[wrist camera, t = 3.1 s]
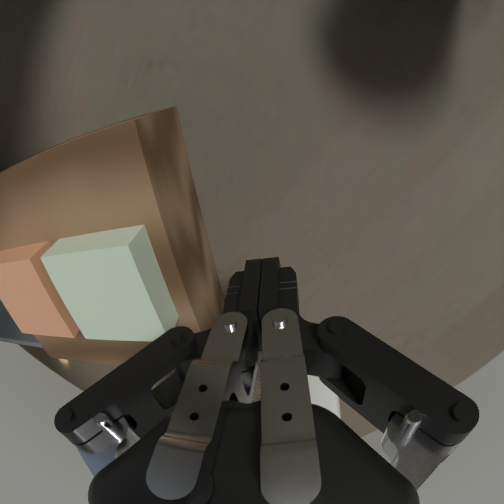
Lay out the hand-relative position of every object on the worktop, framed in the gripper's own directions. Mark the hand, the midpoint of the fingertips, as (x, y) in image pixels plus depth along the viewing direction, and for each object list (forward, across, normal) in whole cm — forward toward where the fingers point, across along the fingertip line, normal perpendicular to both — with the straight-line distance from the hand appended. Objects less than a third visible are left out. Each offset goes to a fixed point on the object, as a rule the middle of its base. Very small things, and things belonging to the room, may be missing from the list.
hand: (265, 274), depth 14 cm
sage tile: (+1, +8, 0) cm, 9 cm away
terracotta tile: (+1, +16, 0) cm, 16 cm away
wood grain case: (+7, +12, 0) cm, 14 cm away
